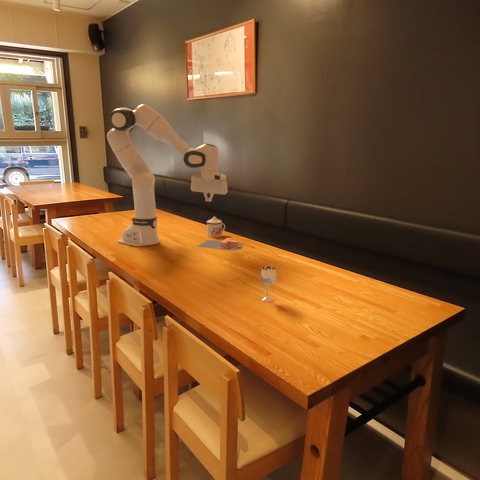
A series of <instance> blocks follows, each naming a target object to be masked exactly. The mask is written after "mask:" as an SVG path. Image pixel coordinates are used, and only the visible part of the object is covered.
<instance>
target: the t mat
mask: <svg viewBox="0 0 480 480" xmlns="http://www.w3.org/2000/svg"><path fill="white" fill-rule="evenodd" d="M222 241H223V240H222ZM222 241H221V240H213V239H207V240H205V241H204V242H202V243H200V244H199V245H197V248H198V247H199V248H208V249H214V250H215V249H216V250H223V251H224V250H225V251H232V252H237V251H238V250H240V249H241V248H242V247H243V246H244V245H245V243H239V246H238V247H237V248H236V247H227V248H220V246H221V242H222Z"/></svg>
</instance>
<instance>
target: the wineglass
mask: <svg viewBox="0 0 480 480" xmlns="http://www.w3.org/2000/svg"><path fill="white" fill-rule="evenodd" d="M276 271H277V270H276V267H273V266H268V265H267V266H262V268H261V270H260V274H259V275H260V277H259V279H260V282H261V284H263V285H265V286H266V296H263V297H261V299H260V300H261V301H262V302H266V303H269V302H273V301H274V298H273V297H271V296H269V290H270V286H272V285H274V284H275V283H276V280H277V272H276Z"/></svg>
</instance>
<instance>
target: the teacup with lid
mask: <svg viewBox="0 0 480 480" xmlns="http://www.w3.org/2000/svg"><path fill="white" fill-rule="evenodd" d="M222 226H223V227H222ZM225 229H226V225H225V223H223V222H222V220H221V219H218V218H217V217H216V216H213V217H212V218H210V219H208V220H206V235H207V237H210V238H220V237H222V233H223V232H224V231H225Z"/></svg>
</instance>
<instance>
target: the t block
mask: <svg viewBox="0 0 480 480" xmlns="http://www.w3.org/2000/svg"><path fill="white" fill-rule="evenodd" d="M239 242H240V241H239V240H235V239H233V238H230V237H227V238H225V239H223V240H222V242H221V246H220V248H227V247H236V248H237V247H238V246H239Z"/></svg>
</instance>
